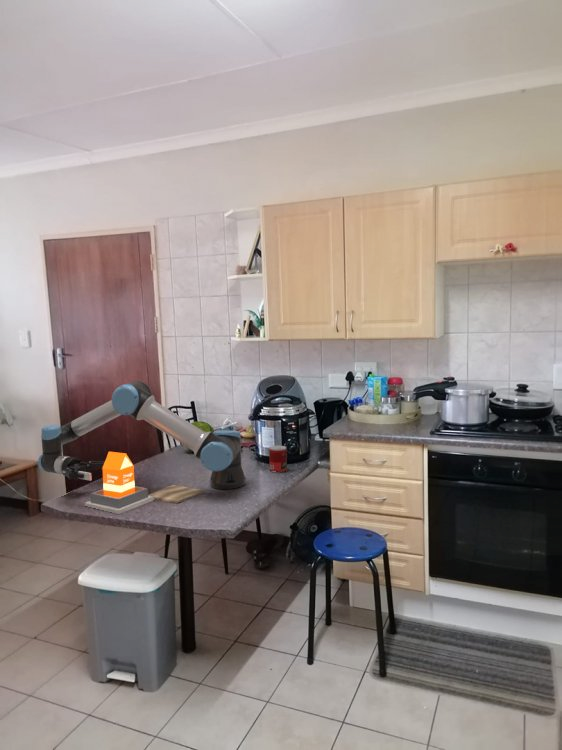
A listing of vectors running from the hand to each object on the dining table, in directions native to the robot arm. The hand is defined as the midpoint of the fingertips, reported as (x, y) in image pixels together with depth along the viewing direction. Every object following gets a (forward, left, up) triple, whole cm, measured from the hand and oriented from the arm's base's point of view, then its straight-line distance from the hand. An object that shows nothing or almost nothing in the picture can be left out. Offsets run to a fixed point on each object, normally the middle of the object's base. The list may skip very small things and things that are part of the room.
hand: (104, 472), depth 220 cm
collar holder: (-7, 0, -11) cm, 13 cm away
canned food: (-37, -68, -12) cm, 79 cm away
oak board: (-19, -18, -11) cm, 29 cm away
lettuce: (+21, -85, -12) cm, 89 cm away
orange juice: (-7, 0, -12) cm, 14 cm away
